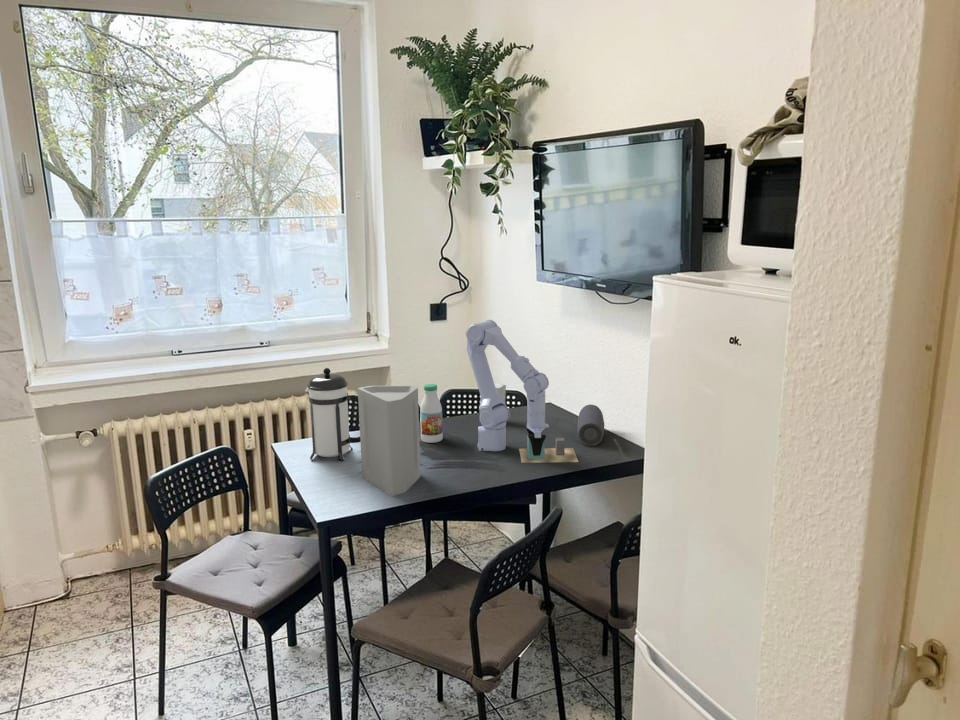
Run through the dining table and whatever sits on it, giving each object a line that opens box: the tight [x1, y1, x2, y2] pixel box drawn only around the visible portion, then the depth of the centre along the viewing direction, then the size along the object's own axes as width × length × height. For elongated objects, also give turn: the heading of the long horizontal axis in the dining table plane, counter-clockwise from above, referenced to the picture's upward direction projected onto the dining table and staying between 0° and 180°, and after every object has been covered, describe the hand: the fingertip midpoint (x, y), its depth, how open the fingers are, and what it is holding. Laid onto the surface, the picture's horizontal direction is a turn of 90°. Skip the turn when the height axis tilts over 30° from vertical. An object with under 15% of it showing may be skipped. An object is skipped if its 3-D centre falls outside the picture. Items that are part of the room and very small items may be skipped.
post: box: [555, 437, 566, 455], centre depth 228 cm, size 3×3×5 cm
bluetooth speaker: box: [577, 404, 605, 447], centre depth 247 cm, size 23×9×10 cm, turn 171°
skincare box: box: [479, 382, 507, 405], centre depth 267 cm, size 8×6×15 cm
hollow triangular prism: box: [357, 385, 422, 497], centre depth 209 cm, size 19×15×28 cm
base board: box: [518, 447, 579, 464], centre depth 228 cm, size 18×13×2 cm
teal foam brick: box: [526, 433, 546, 459], centre depth 226 cm, size 5×5×7 cm
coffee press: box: [304, 367, 360, 463], centre depth 231 cm, size 17×16×30 cm
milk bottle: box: [419, 383, 444, 444], centre depth 246 cm, size 8×8×20 cm
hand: (535, 452), depth 226 cm, fingers closed on teal foam brick, 5 cm apart
